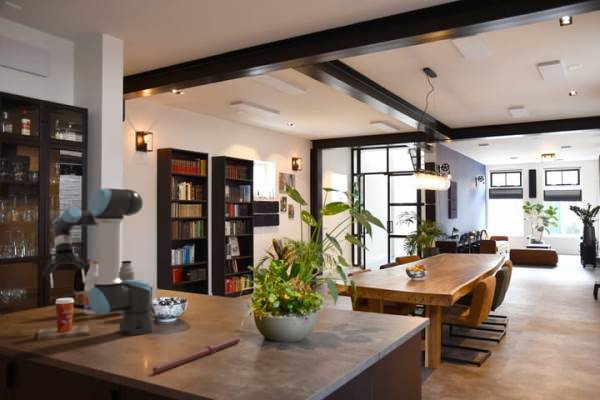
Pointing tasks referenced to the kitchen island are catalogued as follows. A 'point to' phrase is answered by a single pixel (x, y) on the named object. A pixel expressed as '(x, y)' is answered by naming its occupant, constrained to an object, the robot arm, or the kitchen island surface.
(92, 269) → the fruit juice
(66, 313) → the paper cup
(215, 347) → the brown thin rod
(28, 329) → the kitchen island surface
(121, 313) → the thermos bottle
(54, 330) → the walnut board
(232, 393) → the kitchen island surface
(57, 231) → the robot arm
